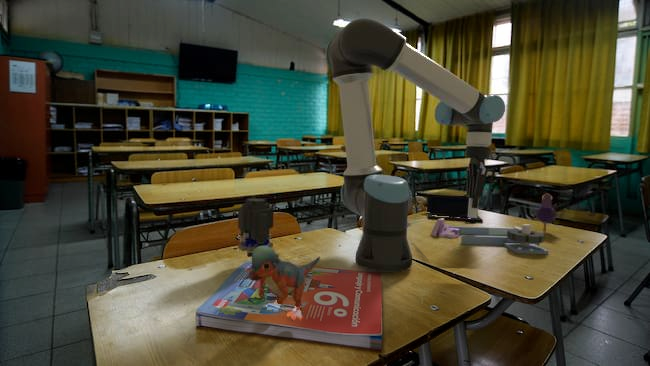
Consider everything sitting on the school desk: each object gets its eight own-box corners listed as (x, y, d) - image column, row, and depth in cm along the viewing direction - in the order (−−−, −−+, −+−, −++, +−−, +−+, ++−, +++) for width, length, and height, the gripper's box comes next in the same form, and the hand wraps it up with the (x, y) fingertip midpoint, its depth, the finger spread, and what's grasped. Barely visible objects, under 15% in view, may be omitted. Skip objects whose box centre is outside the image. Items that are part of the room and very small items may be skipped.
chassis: (473, 252, 110) (474, 226, 109) (447, 232, 135) (448, 211, 134) (557, 254, 110) (559, 228, 109) (515, 234, 134) (517, 213, 134)
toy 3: (564, 214, 139) (547, 205, 144) (563, 198, 131) (545, 189, 136) (544, 236, 139) (528, 226, 144) (542, 221, 131) (524, 211, 136)
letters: (460, 237, 131) (461, 220, 130) (451, 240, 126) (452, 222, 125) (438, 233, 136) (439, 216, 136) (429, 236, 131) (430, 219, 131)
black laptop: (428, 222, 154) (429, 198, 153) (426, 215, 170) (427, 193, 169) (482, 226, 150) (484, 201, 149) (475, 218, 166) (476, 196, 165)
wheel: (517, 242, 109) (517, 236, 109) (502, 235, 119) (502, 228, 119) (550, 243, 109) (551, 236, 109) (533, 236, 119) (533, 229, 118)
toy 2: (251, 336, 65) (250, 252, 63) (234, 308, 74) (233, 234, 72) (344, 312, 74) (346, 238, 71) (319, 290, 83) (320, 223, 81)
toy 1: (264, 250, 107) (265, 197, 106) (278, 257, 100) (278, 201, 98) (235, 254, 102) (235, 198, 101) (247, 262, 95) (247, 203, 94)
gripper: (498, 146, 117) (492, 221, 120) (482, 146, 130) (476, 214, 133) (474, 145, 118) (468, 220, 120) (460, 145, 131) (454, 213, 133)
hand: (472, 217), depth 126 cm, fingers closed
